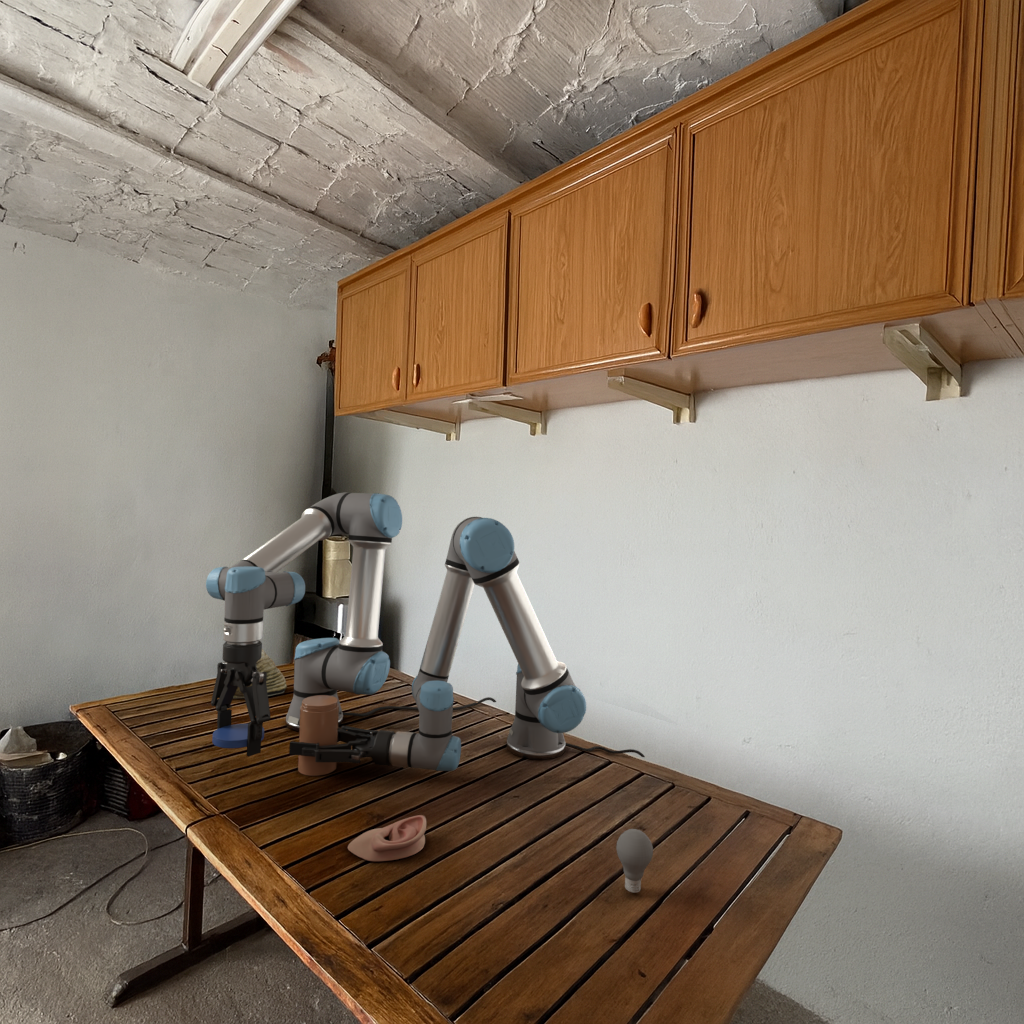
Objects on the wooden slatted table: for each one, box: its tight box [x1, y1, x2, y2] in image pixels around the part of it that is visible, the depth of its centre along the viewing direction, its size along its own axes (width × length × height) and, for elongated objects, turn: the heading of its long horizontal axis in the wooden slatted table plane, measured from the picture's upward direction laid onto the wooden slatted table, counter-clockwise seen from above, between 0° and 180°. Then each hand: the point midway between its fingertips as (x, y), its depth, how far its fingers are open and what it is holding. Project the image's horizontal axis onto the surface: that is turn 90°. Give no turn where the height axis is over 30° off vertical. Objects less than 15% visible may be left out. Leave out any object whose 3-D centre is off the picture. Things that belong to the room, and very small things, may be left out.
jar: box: [297, 695, 339, 777], centre depth 148 cm, size 9×9×16 cm
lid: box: [211, 723, 265, 749], centre depth 132 cm, size 10×10×2 cm
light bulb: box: [615, 828, 654, 894], centre depth 106 cm, size 6×6×10 cm
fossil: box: [233, 648, 288, 699], centre depth 198 cm, size 9×18×15 cm, turn 132°
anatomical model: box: [347, 814, 427, 862], centre depth 116 cm, size 13×4×12 cm
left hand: (238, 747), depth 132 cm, fingers closed on lid, 10 cm apart
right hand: (299, 740), depth 148 cm, fingers closed on jar, 9 cm apart
